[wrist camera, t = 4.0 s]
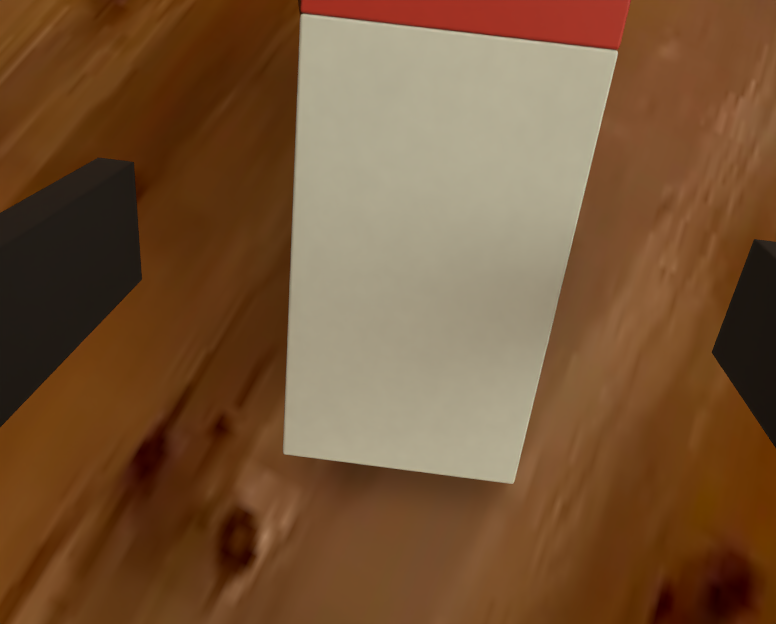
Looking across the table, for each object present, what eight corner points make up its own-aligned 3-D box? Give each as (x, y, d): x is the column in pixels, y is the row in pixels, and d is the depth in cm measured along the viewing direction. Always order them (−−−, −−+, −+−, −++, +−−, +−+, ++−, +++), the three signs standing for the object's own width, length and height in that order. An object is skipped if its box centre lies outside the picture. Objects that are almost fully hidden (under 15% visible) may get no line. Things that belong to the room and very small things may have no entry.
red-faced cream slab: (491, 491, 23) (632, 445, 10) (297, 466, 23) (205, 390, 10) (517, 148, 27) (643, -185, 14) (352, 128, 27) (333, -219, 14)
